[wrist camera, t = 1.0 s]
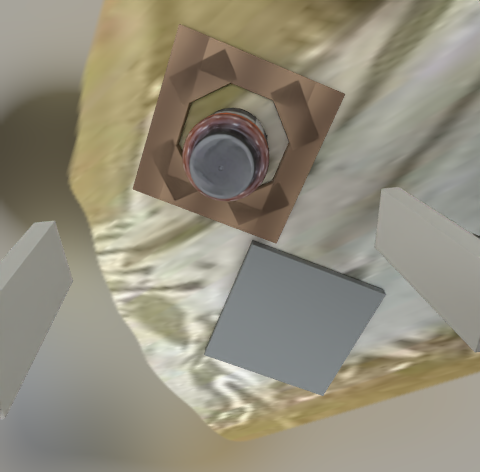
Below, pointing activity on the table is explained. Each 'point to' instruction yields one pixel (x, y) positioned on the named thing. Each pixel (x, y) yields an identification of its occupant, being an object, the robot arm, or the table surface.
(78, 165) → the table surface
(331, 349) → the slate pad
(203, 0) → the table surface
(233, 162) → the supplement bottle
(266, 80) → the socket board
